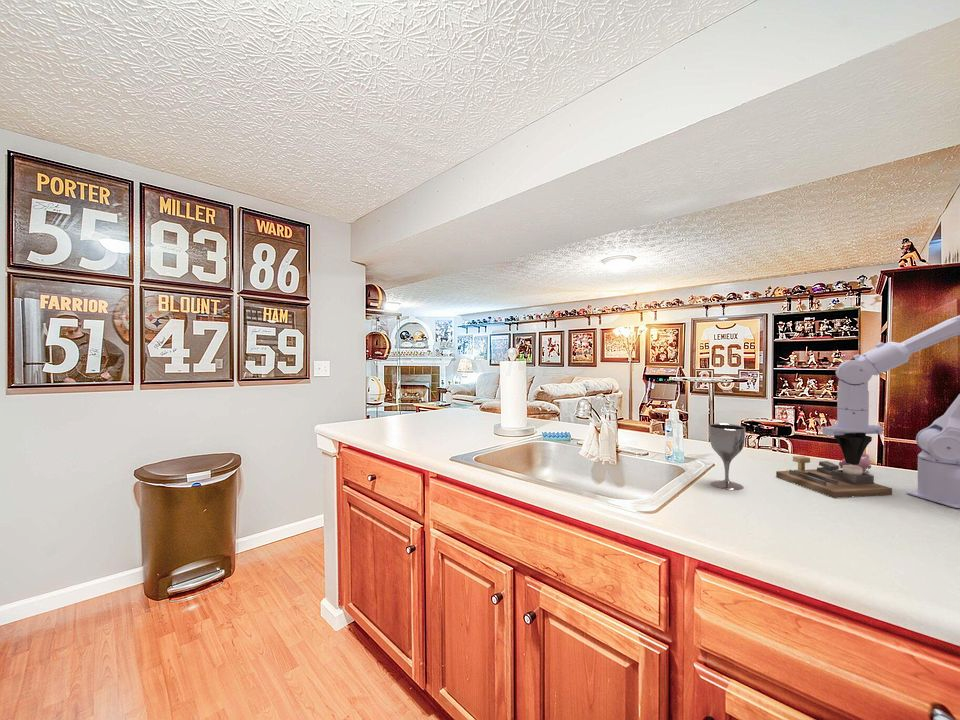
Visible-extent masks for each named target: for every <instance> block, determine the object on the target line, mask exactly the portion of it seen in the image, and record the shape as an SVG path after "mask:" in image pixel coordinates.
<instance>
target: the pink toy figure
mask: <svg viewBox="0 0 960 720" xmlns="http://www.w3.org/2000/svg"><path fill="white" fill-rule="evenodd" d="M841 461H842V462H841ZM871 462H872V461H871V459H870V455H869V454H868V453H865V452H863V454H862V457H861V459H860V462H859V465H854V466H859V467H862V472H863V473H864V472H865V471H866V470H867V469H868V470H869V469H872V465H871ZM843 465H852V464H849V463H846V461H845V458H843V459H841V460H840V461H839V462H838V466H839V468H842V469H843Z"/></svg>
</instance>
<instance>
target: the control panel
mask: <svg viewBox="0 0 960 720" xmlns="http://www.w3.org/2000/svg"><path fill="white" fill-rule="evenodd" d="M794 470H795V469H788V470H776V471H775V473H776V474H775V476H776V478H779V479H781V480H783V481H787V482H789V483H792V484H794V483H795V485H797V484H798V485H797V486H800V485H801V487H803V486H804V487H803V488H805V487H807V488H806V489H808V488H809V489H808V490H811V489H812V490H811V491H814V490H815V491H814V492H816V491H818V492H817V493H819V492H821V493H820V494H822V493H824V494H823V495H825V494H826V495H825V496H827V495H829V496H828V497H830V496H832V497H831V498H833V497H835V498H834V499H837V498H836V497H846V498H853V497H852V496H862V497H873V496H874V497H875V496H876V495H878V496H891V495H893V487H890V486H885V485H883V484H878V483H876V482H875V479H874V478H875V476H874V475H872V474H869V473H866V472H864V471H863V472H862V475H861V476H852V475H849V474H845V473H843V469H839V470H829V469H827V468H824V467H822V466H818V467H816V469H814V468H813V469H812V468H811V469H805V471H807V472H809V475H806V474H803V473H799V472H796V471H794Z"/></svg>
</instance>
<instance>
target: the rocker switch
mask: <svg viewBox="0 0 960 720" xmlns="http://www.w3.org/2000/svg"><path fill="white" fill-rule="evenodd" d="M818 462H819V463H818V466H819V467H824V468H827V469H829V470H840V466H839V464H835V463H832V462H831V461H828V460H825V461H818Z"/></svg>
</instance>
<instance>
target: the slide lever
mask: <svg viewBox="0 0 960 720" xmlns="http://www.w3.org/2000/svg"><path fill="white" fill-rule="evenodd" d="M792 462H794V463H797V469H793V470H794V471H796V472H799V473H803V474H806V475H809V472H807V471H805V470H806V464H808V463H811V458H810V457H808V456H804V455H796V456H792Z"/></svg>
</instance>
